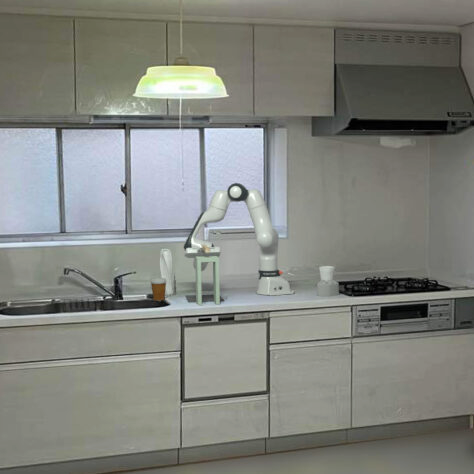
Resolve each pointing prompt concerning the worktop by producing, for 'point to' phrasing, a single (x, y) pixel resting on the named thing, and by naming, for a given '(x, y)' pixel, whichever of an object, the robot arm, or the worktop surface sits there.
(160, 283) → the disposable coffee cup
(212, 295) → the mat
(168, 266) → the skyscraper
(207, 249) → the bar
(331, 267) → the foam cup
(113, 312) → the worktop surface
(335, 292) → the lumpy-topped squat cylinder
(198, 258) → the bridge
